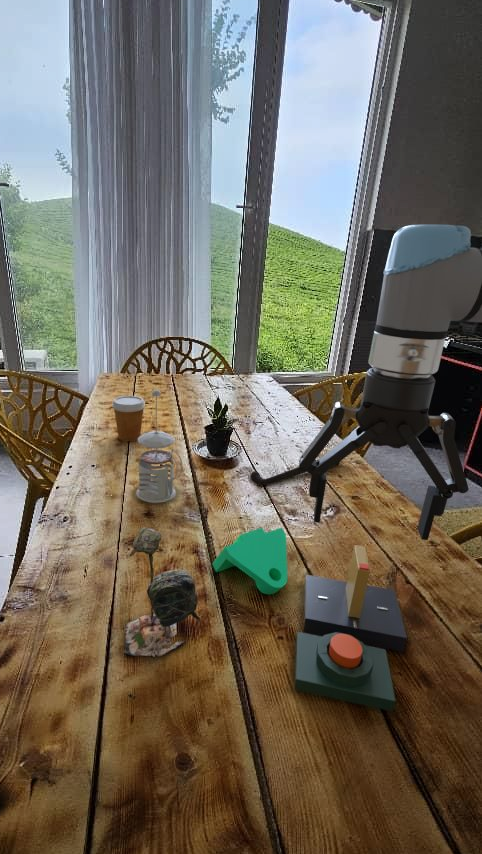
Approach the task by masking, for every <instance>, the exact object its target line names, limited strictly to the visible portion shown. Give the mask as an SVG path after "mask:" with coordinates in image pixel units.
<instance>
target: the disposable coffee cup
mask: <svg viewBox="0 0 482 854" xmlns="http://www.w3.org/2000/svg"><path fill="white" fill-rule="evenodd" d="M111 405H112V409H113V412H114V417H115V424H116V429H117V435H118V440H120V441H122V442H135V441H138V438H139V437H140V436H141V435H142V425H143V417H144V408H145V406H146V403H145V401H144V398H142V397H140V396H137V395H136V396H135V395H122V396H117V397H116V398H114V399H113V401H112V404H111Z"/></svg>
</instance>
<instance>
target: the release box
mask: <svg viewBox="0 0 482 854" xmlns="http://www.w3.org/2000/svg"><path fill="white" fill-rule="evenodd" d="M337 634H343V633H338V632H335V633H331V634H327V635H324V636H321V635H316V634H311V633H306V632H301V631H297V632H296V639H295V653H294V654H295V656H294V677H293V678H294V679H293V680H294V682H293V690H295V691H299V692H304V693H307V694H313V695H317V696H322V697H327V698H331V699H336V700H339V701H344V702H348V703H353V704H357V705H362V706H365V707H371V708H374V709H379V710H383V711H389V712H394V708H395V705H396V702H397V701H396V696H395V690H394V684H393V679H392V675H391V669H390V665H389V664H390V663H389V659H388V655H387V649H386V648H381V647H376V646H371V645H366V644H364V643H363V642H361V641H359V640H358V639H356V638H355V639H356V640H358V641H359V643H360V644H361V646H362V649H363V652H362V657H361V661H360V664H359V665H358V666H357V667H355V668H344V667H341V666H339V665H338V664H336V663H335V662H334V661H333V660H332V659H331V657H330V655H329V647H330V642H331V639H332V637H333V636H335V635H337ZM347 635H348V634H347ZM350 636H351V635H350ZM352 637H353V636H352Z"/></svg>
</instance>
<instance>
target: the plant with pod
mask: <svg viewBox="0 0 482 854" xmlns="http://www.w3.org/2000/svg"><path fill="white" fill-rule="evenodd" d="M162 537H163V536H162V532H161V531H157V530H155V529H153V528H151V527H147V526H142V527H139V530H138V531H137V535H136V537H135V538H134V540H133V542H132V544H131V545H132V548H133V549H132V550H131V553H129V557H133V556H135V554H136V553H144V554H146V555H148V562H149V569H150V581H149V583H148V585H147V589H146V594H147V596H148V598H149V603H150V607H151V608H150V614H145V615H141V616H139V617H138V618H137V619H134V620H132V621H129V622H128V623H127V625H125V626H124V629H123V631H125V632H124V635H125V639H124V644H125V646H124V649H125V650H123V652H124V653H125V654H127V655H129V656H134V657H135V656H138V657H142V656H143V657H144V656H145V657H148V656H149V657H151V656H152V657H153V658H156V657H157V658H159V657H162V656H163V655H166V653H168V652H170V651H171V650H174V649H176V648H178V646H180V645H183V644H184V643H185V641H186V640H182V641H176V642H175V643H174V644H172V641H171V640H172V639H173V638H174V637H175V636H176V635H177V634H178V632H177V631H178V630H177V623H182V622H184V621H185V620H187V619H188V617H190V615H191V616H192V617H193V618H194V619H195V620H197V621H199V622H202V617H201V616H200V615H198V614H197V613H196V612H195V611H196V610H197V606H198V604H199V602H198V595H197V590H196V584H195V579H194V578H192V576H191V575H190V572H189V571H187V570H184V569H180V568H179V569H171V570H167V571H163V572H161V573H160V574H157V575H156V577H155V576H154V575H155V573H154V571H155V570H154V556H153V555H154V554H155V553H156V552H157V550H158V549H159V547H160V543H161V540H162ZM167 646H170V647H168V648H165V647H167Z"/></svg>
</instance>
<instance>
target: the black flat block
mask: <svg viewBox="0 0 482 854" xmlns="http://www.w3.org/2000/svg"><path fill="white" fill-rule="evenodd" d="M346 585H347V581H345V580H339V579H333V578H329V577H322V576H316V575H310V574H305V579H304V585H303V613H302V615H303V621H302V633H306V634H311V635H316V636H321V637H323V636H324V635H327V634H331V633H335V632H338V633H343V634H348V635H351V636H353V637H354V638H356V639H358V640H359V641H361V642H363V643H364V645H366V646H371V647H376V648H381V649H385V650H392V651H397V652H402V653H403V652H404V650H405V648H406V643H407V639H408V636H407V632H406V628H405V624H404V620H403V616H402V613H401V612H402V611H401V609H400V608H401V607H400V605H399V601H398V597H397V594H396V590H395V589H390V588H385V587H380V586H374V585H368V584H367V588H366V592H365V597H364V601H363V605H362V610H361V614H360V618H355V617H350V616H348V607H347V597H346Z"/></svg>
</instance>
